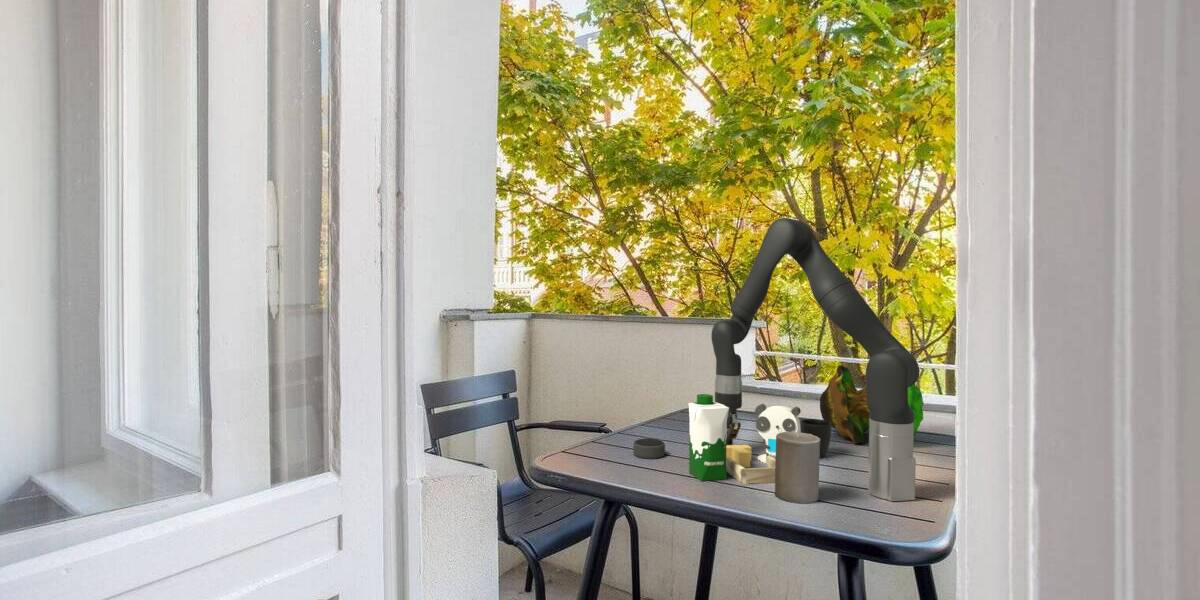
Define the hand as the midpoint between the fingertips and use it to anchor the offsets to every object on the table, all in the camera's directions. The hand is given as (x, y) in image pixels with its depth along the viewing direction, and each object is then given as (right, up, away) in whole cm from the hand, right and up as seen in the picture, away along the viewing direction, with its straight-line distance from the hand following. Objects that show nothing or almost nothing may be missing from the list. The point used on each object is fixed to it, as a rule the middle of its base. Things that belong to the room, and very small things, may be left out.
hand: (727, 451), depth 172 cm
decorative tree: (+48, -1, +19) cm, 52 cm away
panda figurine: (+13, -2, -5) cm, 14 cm away
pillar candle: (+9, -2, -34) cm, 35 cm away
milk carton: (-9, -2, -19) cm, 21 cm away
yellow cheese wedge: (+1, -1, -8) cm, 8 cm away
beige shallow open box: (+3, -2, -19) cm, 20 cm away
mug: (+25, -2, +3) cm, 25 cm away
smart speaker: (-22, -1, 0) cm, 22 cm away
